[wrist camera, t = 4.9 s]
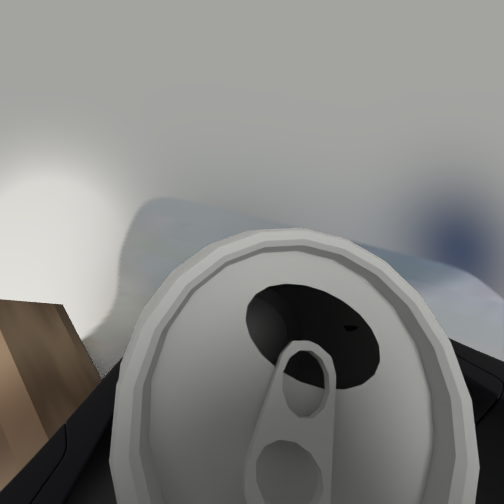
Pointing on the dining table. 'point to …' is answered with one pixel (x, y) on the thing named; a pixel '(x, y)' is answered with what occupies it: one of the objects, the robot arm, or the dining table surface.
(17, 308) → the u rest
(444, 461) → the can
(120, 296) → the dining table surface
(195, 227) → the dining table surface
